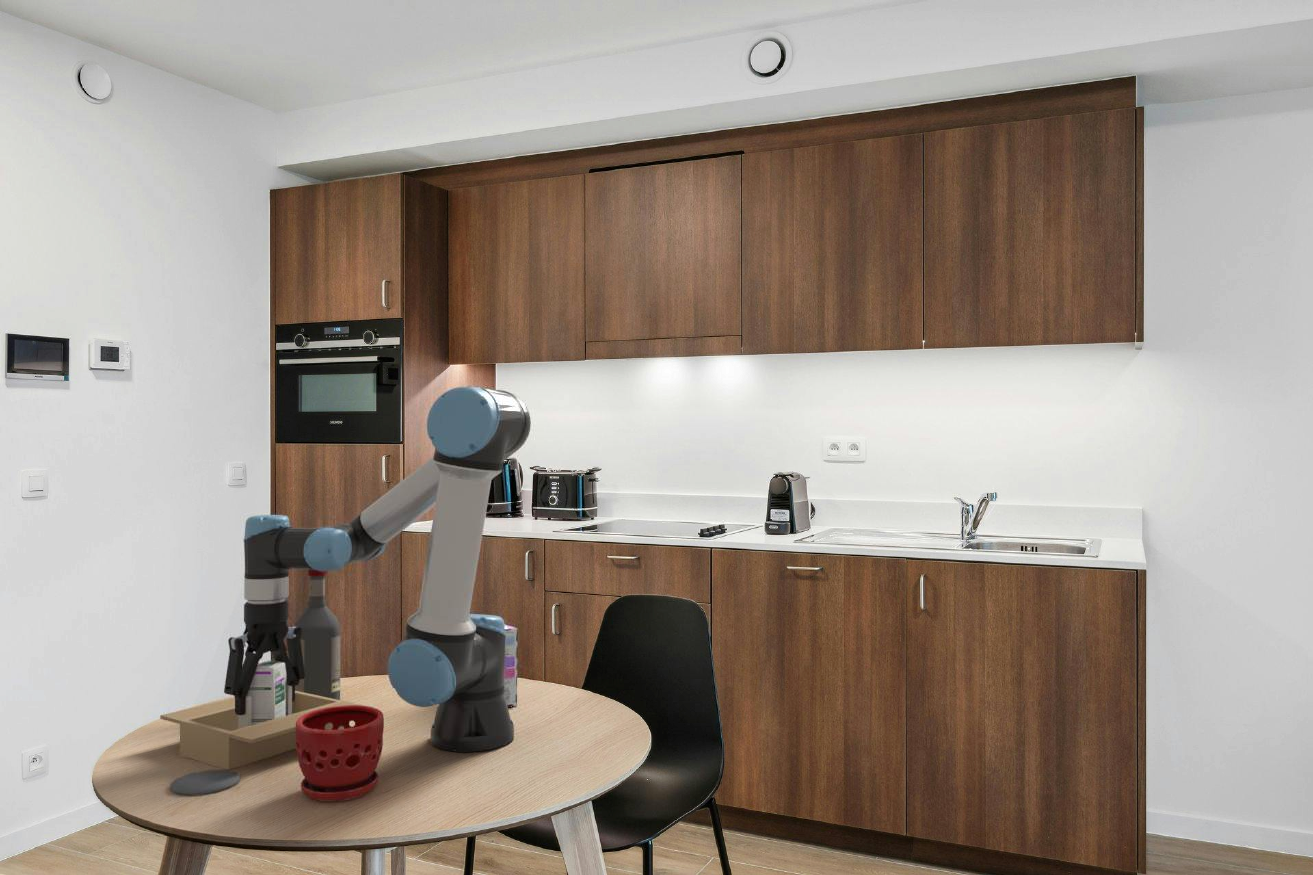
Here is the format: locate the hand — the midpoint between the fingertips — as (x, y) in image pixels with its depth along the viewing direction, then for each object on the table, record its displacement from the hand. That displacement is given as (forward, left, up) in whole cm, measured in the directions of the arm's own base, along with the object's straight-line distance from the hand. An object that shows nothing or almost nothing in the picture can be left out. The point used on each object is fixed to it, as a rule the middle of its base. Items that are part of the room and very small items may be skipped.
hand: (265, 726), depth 172 cm
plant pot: (-31, +9, -3) cm, 32 cm away
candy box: (-15, -44, -3) cm, 47 cm away
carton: (0, 0, -3) cm, 3 cm away
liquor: (+15, -23, -3) cm, 28 cm away
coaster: (-10, +18, -3) cm, 21 cm away
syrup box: (0, 0, -3) cm, 3 cm away
